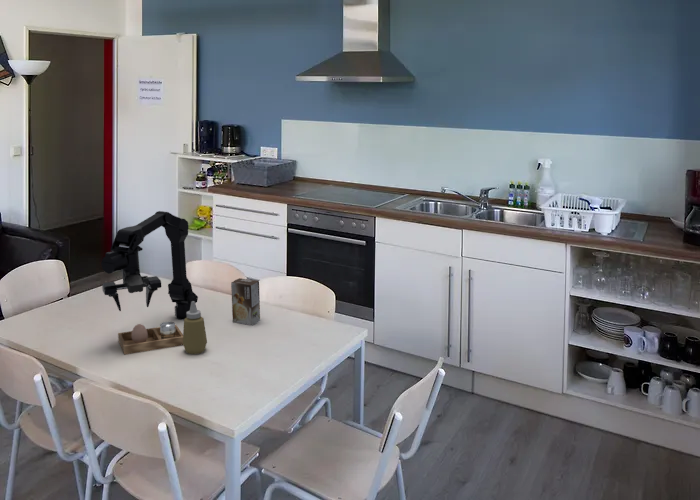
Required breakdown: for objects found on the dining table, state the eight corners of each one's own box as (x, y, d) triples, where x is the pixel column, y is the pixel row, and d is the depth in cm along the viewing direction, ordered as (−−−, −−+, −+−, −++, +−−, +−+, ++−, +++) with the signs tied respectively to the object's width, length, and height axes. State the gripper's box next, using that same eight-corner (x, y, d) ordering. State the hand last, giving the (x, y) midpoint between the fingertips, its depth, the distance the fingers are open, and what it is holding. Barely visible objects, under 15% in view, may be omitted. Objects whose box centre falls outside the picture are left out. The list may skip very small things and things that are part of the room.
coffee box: (261, 320, 252) (260, 280, 248) (252, 326, 246) (251, 285, 242) (240, 317, 255) (239, 277, 251) (231, 322, 249) (230, 282, 245)
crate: (176, 333, 237) (175, 324, 236) (184, 346, 226) (184, 336, 225) (118, 342, 228) (118, 333, 227) (124, 356, 217) (123, 346, 216)
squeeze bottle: (185, 347, 225) (182, 298, 220) (209, 347, 225) (207, 297, 221) (181, 357, 217) (178, 305, 213) (205, 356, 218) (203, 305, 213)
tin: (174, 336, 233) (173, 320, 231) (177, 341, 228) (176, 325, 227) (159, 338, 231) (158, 322, 229) (162, 343, 226) (161, 327, 225)
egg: (135, 348, 222) (133, 328, 220) (130, 343, 226) (128, 323, 224) (150, 345, 225) (149, 325, 223) (145, 340, 229) (143, 320, 227)
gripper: (105, 275, 211) (109, 320, 215) (163, 268, 220) (166, 312, 224) (100, 266, 220) (104, 310, 224) (156, 260, 229) (159, 302, 233)
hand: (133, 308), depth 226 cm, fingers open, 9 cm apart
